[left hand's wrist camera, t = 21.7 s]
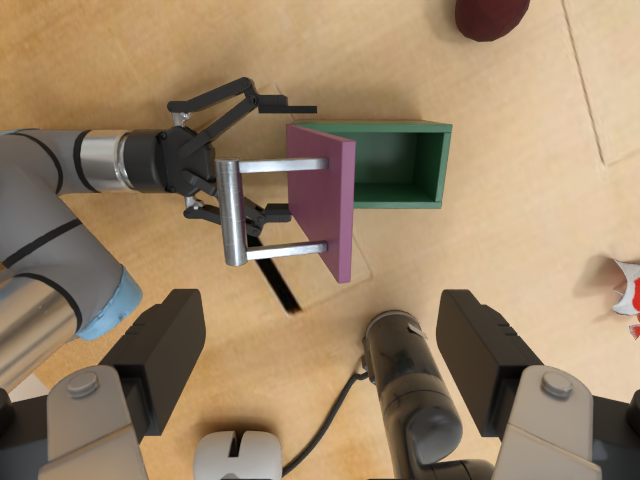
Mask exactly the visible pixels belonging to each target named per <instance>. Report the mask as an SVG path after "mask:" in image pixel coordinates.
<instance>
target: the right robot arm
mask: <svg viewBox="0 0 640 480" xmlns="http://www.w3.org/2000/svg"><path fill="white" fill-rule="evenodd" d="M242 93H244V94H245V96H246V98H245V99H244V100H243V101H242V102H240V103H239V104H238V105H236V106H235V107H234V108H233V109H231V110H230V111H229V112H227V113H226V114H225V115H224V116H222V117H221V118H220V119H218V120H217V121H216V122H215V123H213V124H212V125H211V126H209V127H208V128H207V129H205V130H203V131H202V132H201V133H199V134H197V133H196V132H194V131H193V130H191V129H190V128H188V127H187V126H185V123H186V121H187V120H190V119H192V117H193V112H198V111H201V110H204V109H206V108H209V107H211V106H213V105H216V104H218V103H221V102H223V101H225V100H228V99H230V98H232V97H235V96H237V95H240V94H242ZM256 107H258V110H259V113H317V106H288V97H286V96H284V95H260V94H259V93H258V92H257V90H256V88H255V85H254V82H253V80H252V79H250V78H247V77H242V78H240V79H238V80H235V81H233V82H230V83H228V84H226V85H223V86H221V87H219V88H216V89H214V90H212V91H209V92H207V93H205V94H202V95H200V96H198V97H195V98H193V99H191V100H188V101H171V102H169V103H168V104H167V108H168V110H169V111H170V112H172V115H173V122H174V127H172V128H171V129H168V130H134V131H130V130H40V129H17V130H9V131H3V132H0V262H1V263H2V264H3V265H4V266H5V268H4V269H3V270H2V271H1V272H0V388H3V389H5V390H6V391H7V394H9V393H10V392H11V391H12V390H13V389H14V388H16V387H17V386H18V385H19V384H20V383H21V382H22V381H23V380H25V379H26V378H27V377H28V376H29V375H30V374H31V373H32V372H33V371H35V370H36V369H37V368H38V367H39V366H40V365H41V364H42V363H44V362H45V361H46V360H47V359H48V358H49V357H50V356H51V355H53V354H54V353H55V352H56V351H57V350H58V349H59V348H60V347H62V346H63V345H64V344H66V343H68V342H70V341H72V340H74V339H77V338H79V337H80V338H82V339H83V340H94V339H96V338H98V337H100V336H102V335H104V334H105V333H107V332H108V331H110V330H111V329H112V328H114V327H115V326H116V325H118V324H119V323H120V322H121V321H122V320H123V319H124V318H125V317H127V316H128V315H130V314H131V313H132V312H133V311H134V310H135V309H136V308H137V306H138V305H139V304H140V302H141V300H142V297H143V293H142V290H141V288H140V287H139V286H138V284H137V283H136V282H135V281H134V279H133V278H132V277H131V275H130V274H129V273H128V271H127V270H126V268H125V267H124V266H123V265H122V264H120V263H119V262H118V261H117V260H116V259H115V258H114V257H113V256H112V255H111V254H110V252H109V251H108V250H107V249H106V248H105V247H104V246H103V245H102V244H101V243H100V242H99V241H98V240H97V239H96V238H95V236H94V235H93V234H92V233H91V232H90V231H89V230H88V229H87V228H86V227H85V226H84V225H83V223H82V222H81V221H80V220H79V219H78V218H77V216H76V215H75V214H74V213H73V212H72V211H71V210H70V209H69V208H68V207H67V205H66V204H65V203H64V202H63V201H62V200H61V199H60V198H59V197H58V196H61V195H64V194H70V193H137V192H141V193H177V194H180V195H182V196H184V197H185V203H186V210H185V211H184V212H183V214H184V216H185V217H186V218H188V219H204V220H207V221H210V222H213V223H216V224H219V225H221V217H220V208H218V207H215V206H212V205H206V204H204V202H203V201H202V200H198V199H197V198H196V197H195V194H196V193H198V192H199V191H200V190H203V191H204V192H206V193H207V194H209V195H211V196H215V197H217V198H218V189H217V180H216V177H215V176H216V171H215V162H214V159H215V148H213V147H212V145H211V142H213V141H214V140H215V139H217V138H218V137H219V136H220V135H221V134H222V133H224V132H225V131H226V130H228V129H229V128H230V127H232V126H233V125H234V124H235V123H237V122H238V121H239V120H241V119H242V118H243V117H245V116H246V115H247V114H249V113H250V112H251V111H253V110H254V109H255V108H256ZM218 199H219V198H218ZM243 200H244V212H245V215H246V216H247V217H249V218H251V219H249V218H247V217H245V224H246V234H249V235H251V236H254V237H258V236H259V235H260V234H261V231H262V229H263V226H264V224H265V223H267V222H289V221H291V218H292V217H291V215H292V214H291V212H290V211H289V204H267V206H266V208H265V209H263V208H262V207H260V206H259V205H257V204H255V203H254V202H252V201H251V200H249V199H247V198H246V197H244V196H243Z"/></svg>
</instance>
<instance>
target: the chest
mask: <svg viewBox="0 0 640 480" xmlns="http://www.w3.org/2000/svg"><path fill="white" fill-rule="evenodd" d="M292 124H294V125H298V126H302V127H305V128H309V129H313V130H317V131H320V132H324V133H328V134H332V135H336V136H339V137H343V138H347V139H351V140H355V141H356V151H355V176H354V201H353V208H389V209H441V205H442V197H443V190H444V182H445V175H446V168H447V161H448V153H449V146H450V139H451V132H452V125H451V124H444V123H438V122H431V121H426V120H296V121H295V122H293V123H292Z"/></svg>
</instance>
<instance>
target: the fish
mask: <svg viewBox="0 0 640 480" xmlns="http://www.w3.org/2000/svg"><path fill="white" fill-rule="evenodd" d="M613 260H614V259H613ZM614 261H615V262H616V263H617V264H618V265H619V267H620V268H621V269H622V271H623V273H624V274H625V277H626V279H627V281H628V282H627V288H626V291H625V293H621V292H618V291H615V290H614V291H615V292H617V293H619V294H621V295H623V296H622V298H621V299H620V301H619V302H618V303H617V304H616V305H615V306H613V307H612V308H611V309H612V310H614V311H615V312H616V313H618V314H622V315H635V316H637V318H638V320H639V322H640V264H632V263H622V262H619V261H617V260H614ZM629 329H630V332H631V334H632V335H633V337H634V338H635V340H636V339H637V338H638V337H639V336H640V325H632V326H630V327H629Z"/></svg>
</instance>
